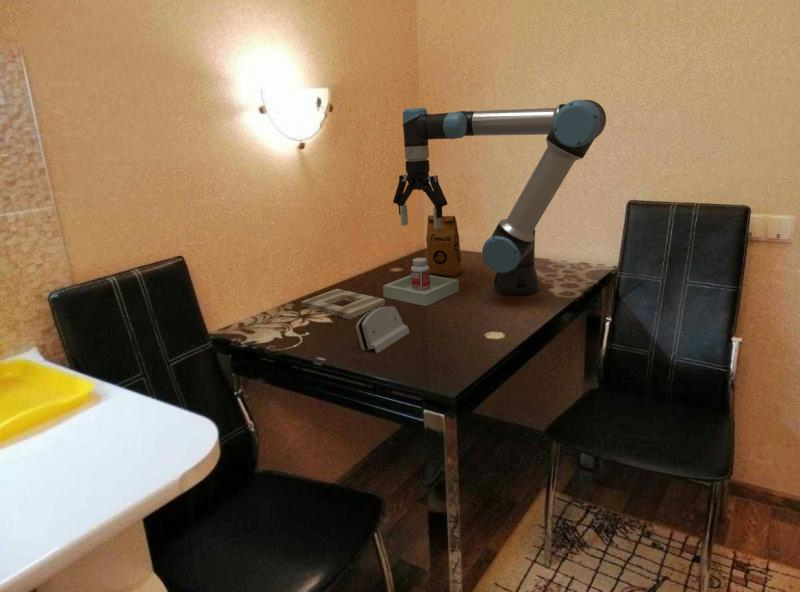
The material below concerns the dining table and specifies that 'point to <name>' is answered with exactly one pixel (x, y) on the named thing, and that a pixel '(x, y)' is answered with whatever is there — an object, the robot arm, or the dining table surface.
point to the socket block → (348, 311)
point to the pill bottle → (420, 275)
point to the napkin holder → (380, 328)
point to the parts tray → (404, 292)
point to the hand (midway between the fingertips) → (420, 226)
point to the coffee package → (443, 247)
